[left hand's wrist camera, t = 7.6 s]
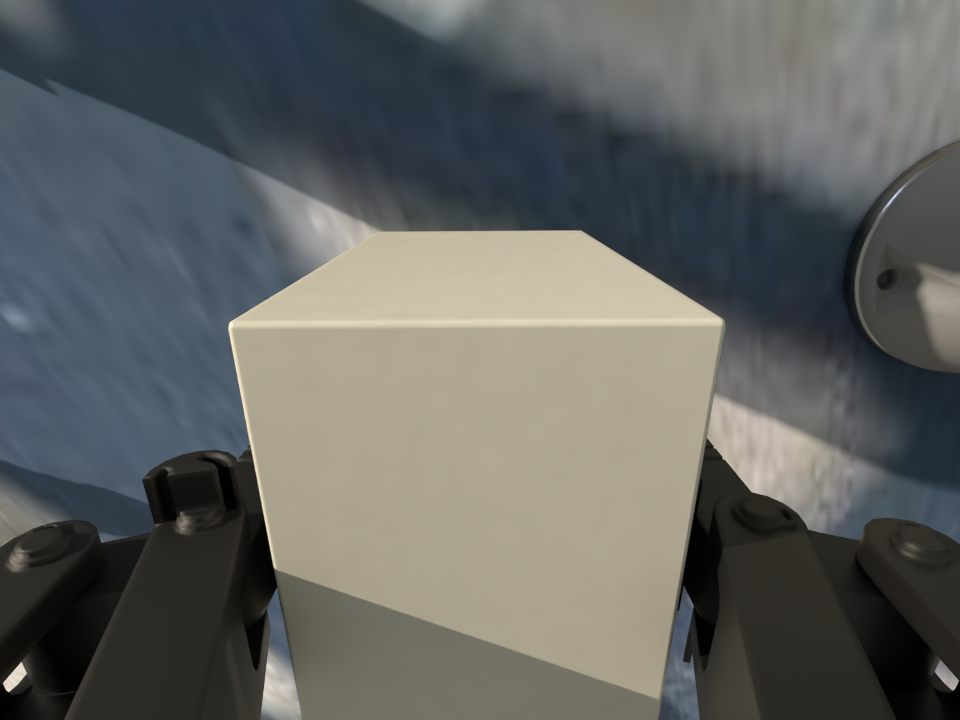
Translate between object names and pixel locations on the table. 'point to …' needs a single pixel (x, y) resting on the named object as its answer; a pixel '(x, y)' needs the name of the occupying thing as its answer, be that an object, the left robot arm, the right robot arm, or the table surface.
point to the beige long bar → (478, 474)
